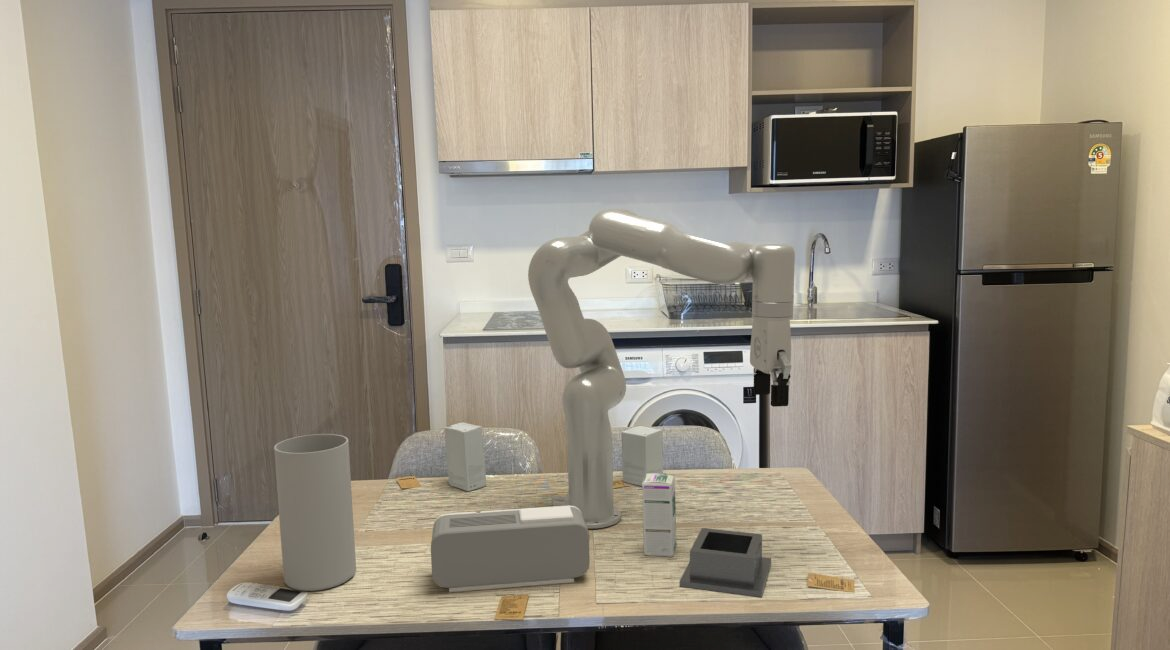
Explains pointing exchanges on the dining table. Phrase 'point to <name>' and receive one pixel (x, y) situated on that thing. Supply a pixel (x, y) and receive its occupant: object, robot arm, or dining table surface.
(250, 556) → the dining table surface
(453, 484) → the skincare box
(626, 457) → the supplement box
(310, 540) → the cylinder vase
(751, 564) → the socket
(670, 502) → the syrup box
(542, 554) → the grey rounded block
